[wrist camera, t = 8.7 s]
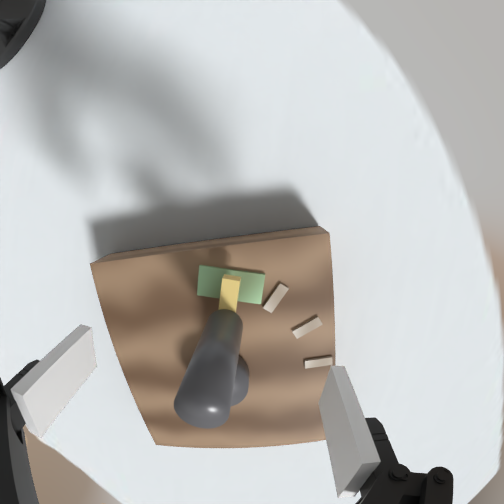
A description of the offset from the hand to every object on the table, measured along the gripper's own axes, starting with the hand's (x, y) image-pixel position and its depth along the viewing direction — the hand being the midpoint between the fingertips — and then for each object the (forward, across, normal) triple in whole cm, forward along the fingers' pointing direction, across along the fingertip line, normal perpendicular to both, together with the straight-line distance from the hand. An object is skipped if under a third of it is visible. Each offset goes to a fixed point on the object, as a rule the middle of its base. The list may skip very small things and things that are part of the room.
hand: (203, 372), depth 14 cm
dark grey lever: (+9, 0, -3) cm, 9 cm away
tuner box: (+13, 0, -7) cm, 14 cm away
